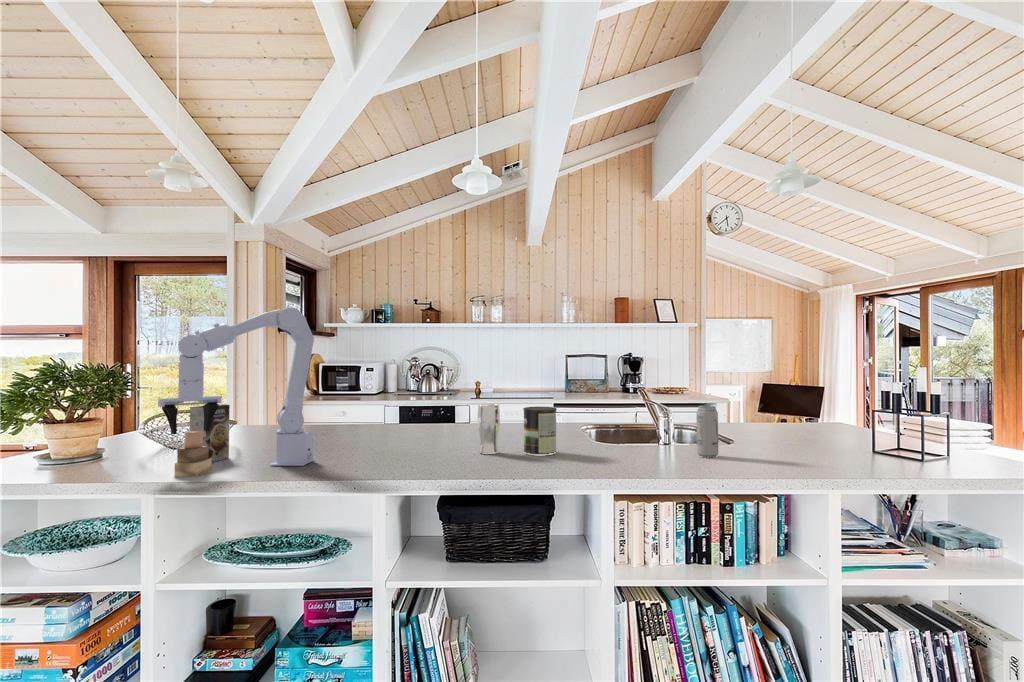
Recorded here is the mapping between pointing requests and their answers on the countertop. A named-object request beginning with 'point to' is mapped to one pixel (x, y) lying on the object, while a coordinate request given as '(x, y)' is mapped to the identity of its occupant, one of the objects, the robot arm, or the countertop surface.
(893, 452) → the countertop surface
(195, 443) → the light brown wooden cube
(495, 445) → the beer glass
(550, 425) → the coffee can
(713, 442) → the energy drink can
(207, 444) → the coffee box
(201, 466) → the oak slab
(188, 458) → the walnut slab
